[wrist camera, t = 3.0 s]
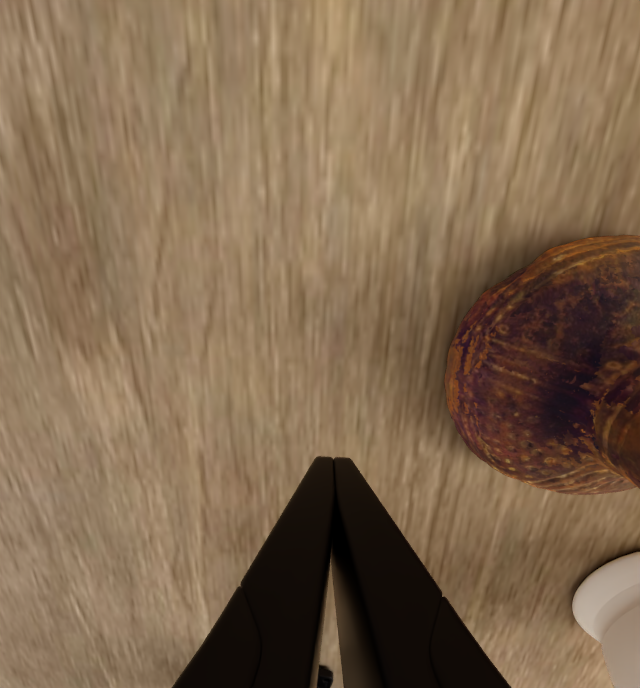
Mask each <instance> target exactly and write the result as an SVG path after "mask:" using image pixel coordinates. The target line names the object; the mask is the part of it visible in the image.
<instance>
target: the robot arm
mask: <svg viewBox="0 0 640 688" xmlns="http://www.w3.org/2000/svg"><path fill="white" fill-rule="evenodd" d="M330 559H331V565H332V577H333V586H334V596H335V606H336V615H337V625H338V635H339V645H340V654H341V664H342V674H343V684H344V688H511V686H510V685H509V684H508V683H507V681H506V680H505V679H504V677H503V676H502V675H501V674H500V672H499V671H498V670H497V668H496V667H495V666H494V665H493V663H492V662H491V661H490V659H489V658H488V657H487V655H486V654H485V652H484V651H483V650H482V648H481V647H480V645H479V644H478V643H477V641H476V640H475V638H474V637H473V636H472V634H471V633H470V631H469V630H468V629H467V627H466V626H465V624H464V623H463V622H462V620H461V619H460V617H459V616H458V614H457V613H456V611H455V610H454V608H453V607H452V605H451V604H450V603H449V601H448V600H447V598H446V597H442V591H441V590H440V588H439V587H438V585H437V584H436V582H435V581H434V579H433V578H432V577H431V575H430V574H429V572H428V571H427V569H426V568H425V566H424V565H423V563H422V562H421V560H420V559H419V558H418V556H417V555H416V553H415V552H414V550H413V549H412V547H411V546H410V544H409V543H408V541H407V540H406V539H405V537H404V536H403V534H402V533H401V531H400V530H399V528H398V527H397V525H396V524H395V522H394V521H393V520H392V518H391V517H390V515H389V514H388V512H387V511H386V509H385V508H384V506H383V505H382V503H381V502H380V501H379V499H378V498H377V496H376V495H375V493H374V492H373V490H372V489H371V487H370V486H369V484H368V483H367V482H366V480H365V479H364V477H363V476H362V474H361V473H360V471H359V470H358V468H357V467H356V465H355V464H354V463H353V461H352V460H351V459H350V458H343V457H335V458H334V460H333V458H332V457H322V456H318V457H316V458H315V459H314V461H313V463H312V464H311V466H310V468H309V469H308V471H307V473H306V474H305V476H304V478H303V479H302V481H301V483H300V484H299V486H298V488H297V489H296V491H295V493H294V494H293V496H292V498H291V499H290V501H289V503H288V505H287V506H286V508H285V510H284V511H283V513H282V515H281V516H280V518H279V520H278V521H277V523H276V525H275V526H274V528H273V530H272V531H271V533H270V535H269V536H268V538H267V540H266V541H265V543H264V545H263V546H262V548H261V550H260V551H259V553H258V555H257V556H256V558H255V560H254V561H253V563H252V565H251V566H250V568H249V570H248V571H247V573H246V575H245V576H244V578H243V580H242V581H241V587H240V586H239V587H238V588H237V589H236V591H235V592H234V594H233V596H232V597H231V599H230V601H229V602H228V604H227V606H226V607H225V609H224V611H223V612H222V614H221V615H220V617H219V619H218V620H217V622H216V623H215V625H214V626H213V628H212V630H211V631H210V633H209V634H208V636H207V637H206V639H205V641H204V642H203V644H202V645H201V647H200V648H199V650H198V651H197V652H196V654H195V655H194V657H193V658H192V660H191V661H190V662H189V664H188V665H187V667H186V668H185V670H184V671H183V672H182V674H181V675H180V677H179V678H178V680H177V681H176V682H175V684H174V685H173V687H172V688H330V687H331V685H332V682H333V672H332V671H330V670H325V669H319V660H320V651H321V642H322V634H323V625H324V616H325V607H326V598H327V589H328V580H329V570H330Z"/></svg>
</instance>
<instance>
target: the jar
mask: <svg viewBox="0 0 640 688" xmlns="http://www.w3.org/2000/svg"><path fill="white" fill-rule="evenodd" d="M572 610H573V614H574V617H575V619H576V621H577V622H578V624H579V625H580V626H581V627H582V628H583V629H584V630H585V631H586V632H587V633H588V634H589V635H591V636H592V637H593V638H595V639H596V640H598V641H599V642H600V643H601V644H602V652H603V655H604V659H605V663H606V666H607V669H608V672H609V675H610V678H611V681H612V683H613V686H614V688H640V552H635V553H632V554H629V555H626V556H622V557H620V558H617V559H615V560H613V561H611V562H608V563H607V564H605V565H603V566H602V567H600V568H598V569H597V570H595V571H594V572H593V573H592V574H590V575H589V576H588V577H587V578H586V579H585V580H584V581H583V582H582V583H581V585H580V586H579V587H578V589H577V591H576V593H575V595H574V598H573V602H572Z"/></svg>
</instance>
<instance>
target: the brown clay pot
mask: <svg viewBox="0 0 640 688" xmlns="http://www.w3.org/2000/svg"><path fill="white" fill-rule="evenodd" d="M447 364H448V365H447V368H446V372H445V380H444V385H445V391H446V398H447V405H448V408H449V410H450V414H451V418H452V419H453V421H454V423H455V426H456V429H457V431H458V432H459V434H460V435H461V437H462V438H463V440H464V442H465V443H466V445H467V446H468V447H469V448H470V450H471V451H472V452H473V453H475V454H476V455H477V456H478V457H479V458H480V459H482V460H483V461H485V462H486V463H487V464H489V465H490V466H491V467H492V468H494V469H495V470H497V471H499V472H500V473H502V474H504V475H506V476H508V477H511V478H514V479H518V480H520V481H522V482H524V483H526V484H530V485H532V486H534V487H537V488H543V489H547V490H551V491H555V492H559V493H565V494H578V495H590V494H604V493H612V492H619V491H624V490H628V489H632V488H635V487H638V488H640V236H632V235H619V236H603V237H591V238H586V239H581V240H577V241H574V242H571V243H569V244H564V245H561V246H557V247H554V248H551V249H549V250H547V251H545V252H544V253H543V254H542V255H540V256H539V257H538V258H537V259H535V260H534V261H533V262H532V263H531V264H530V265H528V266H526V267H524V268H522V269H520V270H518V271H516V272H515V273H513V274H512V275H511V276H509V277H508V278H507V279H506V280H504V281H502V282H500V283H498V284H496V285H494V286H493V287H491V288H490V289H488V290H487V291H486V292H484V293H483V294H482V295H481V296H480V297H479V299H478V300H477V301H476V303H475V304H474V305H473V307H472V308H471V309H470V310H469V311H468V313H467V314H466V316H465V317H464V319H463V321H462V322H461V324H460V326H459V328H458V330H457V333H456V336H455V337H454V339H453V341H452V343H451V345H450V349H449V352H448V358H447Z"/></svg>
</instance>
